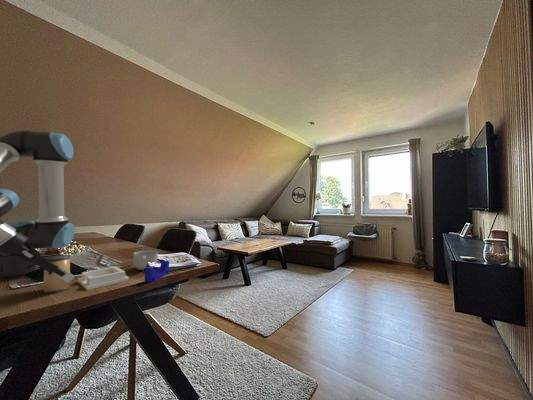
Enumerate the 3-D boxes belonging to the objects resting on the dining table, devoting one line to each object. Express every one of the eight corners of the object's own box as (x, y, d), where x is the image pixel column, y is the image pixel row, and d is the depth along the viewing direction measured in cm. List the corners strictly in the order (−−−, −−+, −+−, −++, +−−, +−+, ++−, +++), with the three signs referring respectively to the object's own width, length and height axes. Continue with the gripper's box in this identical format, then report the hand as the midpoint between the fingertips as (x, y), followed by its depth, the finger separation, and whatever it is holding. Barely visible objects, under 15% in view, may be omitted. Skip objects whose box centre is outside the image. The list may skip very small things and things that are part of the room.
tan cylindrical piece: (42, 290, 83) (43, 257, 83) (67, 284, 88) (68, 254, 88) (44, 295, 78) (45, 260, 78) (71, 289, 84) (71, 257, 84)
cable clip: (160, 273, 104) (160, 260, 104) (168, 274, 103) (169, 260, 103) (141, 282, 92) (141, 267, 92) (151, 283, 91) (151, 268, 92)
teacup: (138, 265, 116) (138, 250, 116) (160, 264, 118) (160, 249, 118) (126, 274, 102) (126, 256, 102) (151, 273, 104) (152, 255, 104)
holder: (77, 281, 92) (78, 272, 92) (117, 273, 102) (117, 265, 103) (86, 290, 83) (87, 280, 83) (128, 280, 94) (129, 271, 94)
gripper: (-7, 245, 78) (55, 280, 90) (-8, 253, 65) (65, 293, 77) (16, 228, 82) (73, 264, 94) (20, 233, 69) (85, 274, 82)
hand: (69, 277), depth 86 cm, fingers closed on tan cylindrical piece, 7 cm apart
